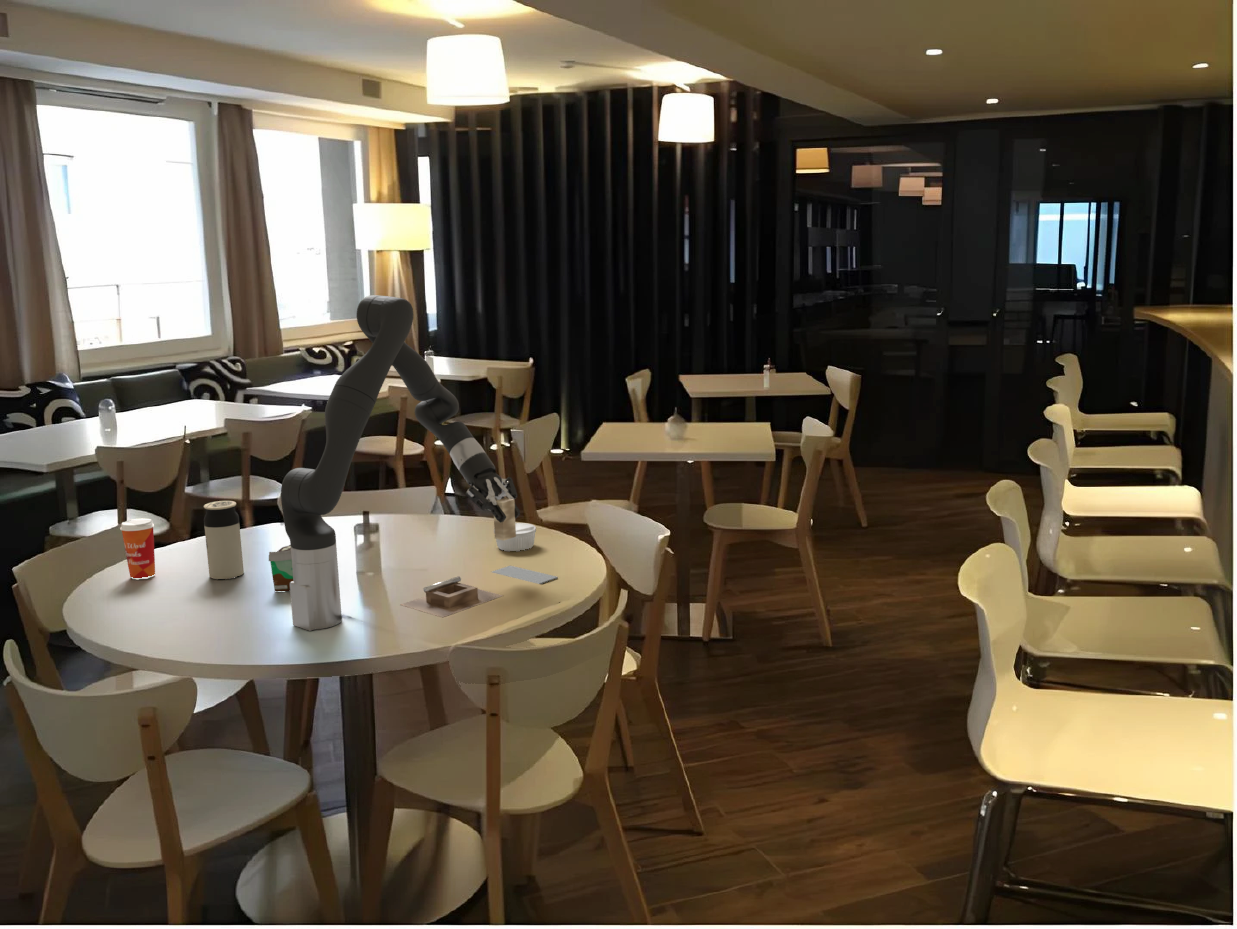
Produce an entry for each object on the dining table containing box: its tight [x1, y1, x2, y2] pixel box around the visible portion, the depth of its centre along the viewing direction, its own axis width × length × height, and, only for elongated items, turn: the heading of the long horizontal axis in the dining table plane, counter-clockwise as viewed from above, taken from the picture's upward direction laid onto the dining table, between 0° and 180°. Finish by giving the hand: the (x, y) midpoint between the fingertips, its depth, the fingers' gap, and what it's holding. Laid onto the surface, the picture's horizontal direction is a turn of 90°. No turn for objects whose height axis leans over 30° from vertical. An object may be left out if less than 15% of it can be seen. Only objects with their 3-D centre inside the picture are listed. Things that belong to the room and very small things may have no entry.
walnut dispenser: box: [400, 576, 504, 618], centre depth 238 cm, size 18×14×5 cm
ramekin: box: [493, 522, 537, 552], centre depth 284 cm, size 11×11×5 cm
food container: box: [268, 544, 293, 592], centre depth 253 cm, size 12×6×10 cm, turn 168°
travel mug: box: [203, 500, 245, 580], centre depth 262 cm, size 8×8×18 cm
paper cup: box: [119, 517, 156, 578], centre depth 263 cm, size 8×8×14 cm
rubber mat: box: [491, 565, 559, 585], centre depth 254 cm, size 18×16×1 cm
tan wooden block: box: [493, 497, 516, 540], centre depth 251 cm, size 4×3×9 cm
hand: (510, 518), depth 250 cm, fingers closed on tan wooden block, 4 cm apart
